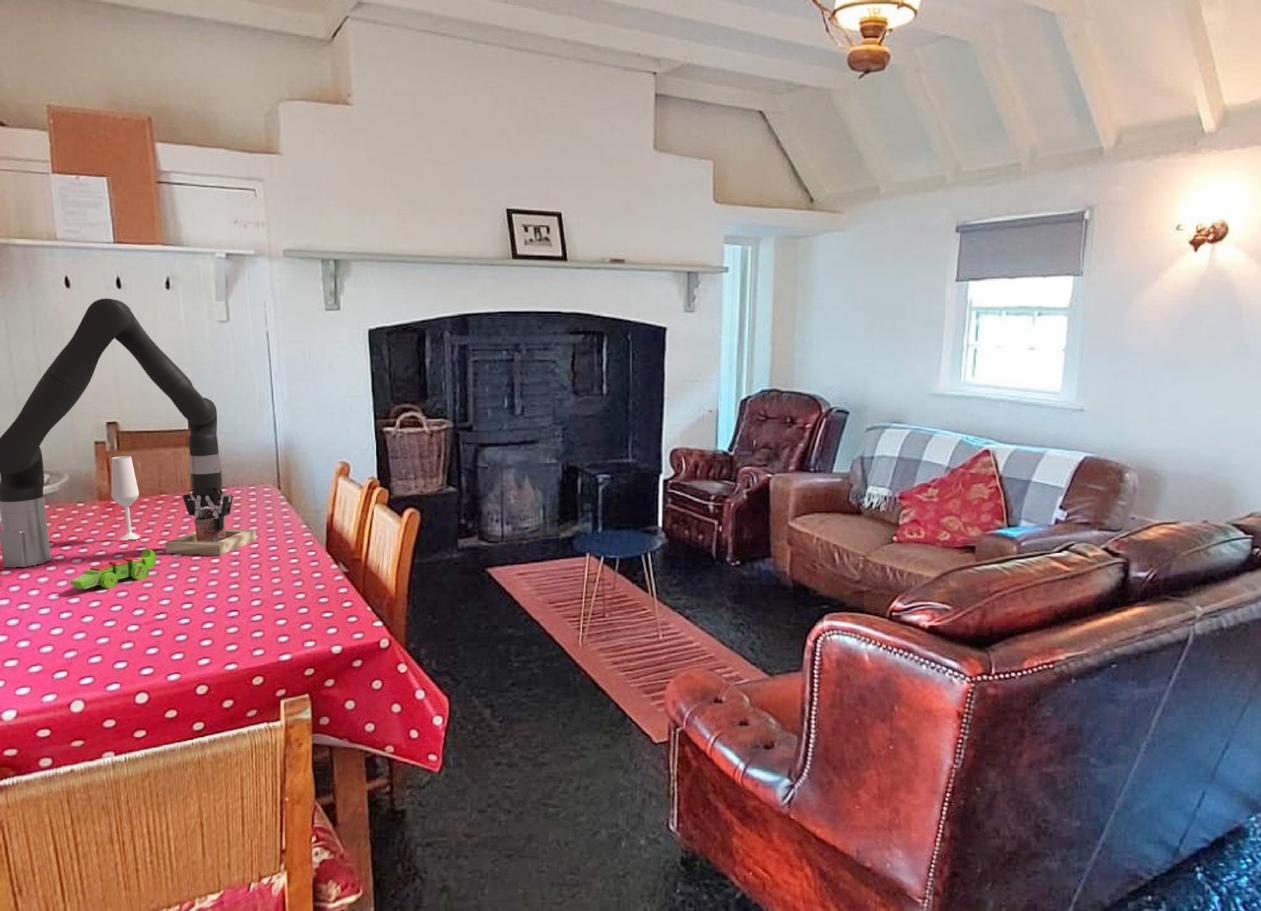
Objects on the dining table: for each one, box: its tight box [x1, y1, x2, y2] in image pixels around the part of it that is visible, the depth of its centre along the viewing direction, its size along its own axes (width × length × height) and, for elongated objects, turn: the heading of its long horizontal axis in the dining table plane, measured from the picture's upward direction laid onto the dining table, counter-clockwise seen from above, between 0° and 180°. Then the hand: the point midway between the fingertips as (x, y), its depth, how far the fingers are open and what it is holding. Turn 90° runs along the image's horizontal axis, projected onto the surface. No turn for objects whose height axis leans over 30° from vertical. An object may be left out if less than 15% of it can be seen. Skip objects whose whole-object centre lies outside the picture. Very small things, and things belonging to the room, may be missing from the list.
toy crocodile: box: [69, 548, 157, 590], centre depth 190 cm, size 20×7×6 cm, turn 155°
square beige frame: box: [165, 528, 257, 556], centre depth 221 cm, size 16×16×3 cm
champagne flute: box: [110, 455, 141, 540], centre depth 227 cm, size 7×7×24 cm
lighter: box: [193, 508, 226, 542], centre depth 220 cm, size 8×3×10 cm, turn 143°
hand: (210, 530), depth 220 cm, fingers closed on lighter, 4 cm apart
